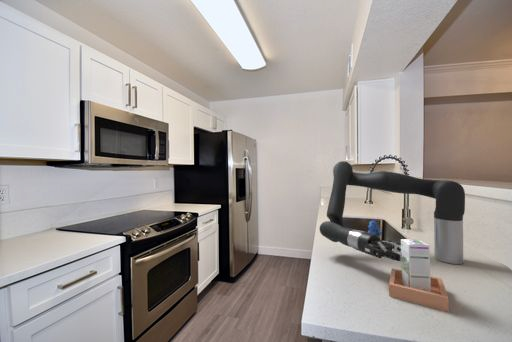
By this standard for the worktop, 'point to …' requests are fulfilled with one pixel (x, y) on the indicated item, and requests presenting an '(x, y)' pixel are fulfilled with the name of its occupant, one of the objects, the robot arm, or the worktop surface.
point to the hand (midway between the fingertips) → (408, 255)
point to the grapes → (374, 228)
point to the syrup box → (415, 264)
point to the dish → (419, 292)
